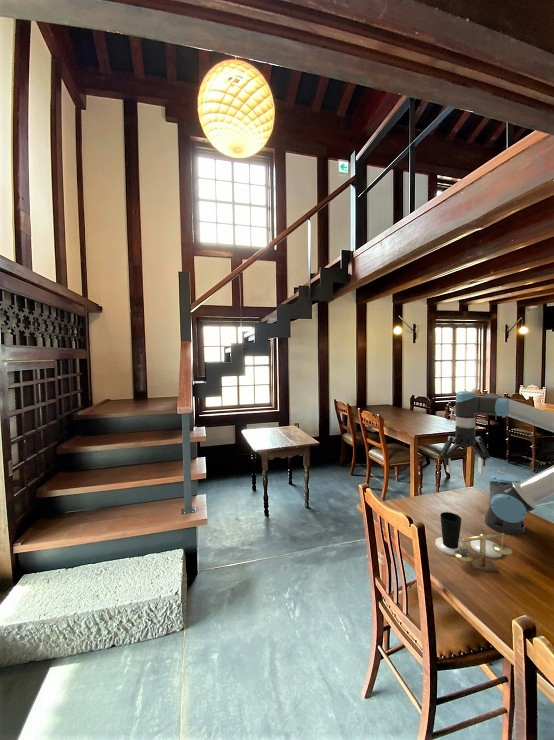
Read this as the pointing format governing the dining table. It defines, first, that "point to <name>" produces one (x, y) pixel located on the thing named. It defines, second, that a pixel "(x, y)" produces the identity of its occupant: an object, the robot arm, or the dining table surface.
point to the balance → (482, 553)
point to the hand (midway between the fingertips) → (464, 472)
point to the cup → (450, 529)
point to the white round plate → (489, 548)
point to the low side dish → (445, 549)
